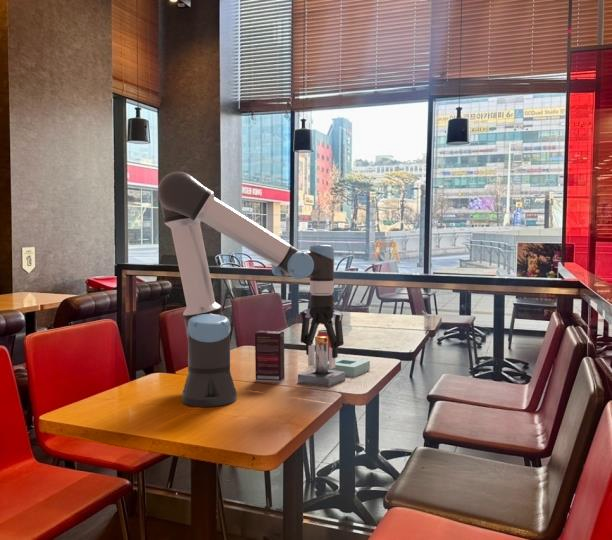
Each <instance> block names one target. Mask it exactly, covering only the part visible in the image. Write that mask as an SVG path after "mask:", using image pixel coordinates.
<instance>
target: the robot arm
mask: <svg viewBox="0 0 612 540" xmlns="http://www.w3.org/2000/svg"><path fill="white" fill-rule="evenodd" d="M157 195H158V200H159V203H160V207H161V212H162V216H163V221H164V225H166V226H167V227H168V228H169V229H170V230H171V234H172V235H171V236H172V240H173V245H174V250H175V255H176V260H177V264H178V265H177V266H178V270H179V274H180V279H181V284H182V289H183V296H184V300H185V305H186V308H185V309H184V311H183V313H182V317H183V321H184V325H185V326H184V327H185V333H186V337H187V367H188V368H187V369H188V371H187V376H186V380H185V383H184V386H183V390H182V392H181V402H182V403H183V404H185V405H187V406H191V407H202V408H203V407H204V408H210V407H211V408H212V407H220V406H224V405H225V406H226V405H229V404H232V403H234V402H236V401H237V389H236V386H235V384H234V380H233V377H232V373H231V332H232V331H231V324H230V319H229V318H228V317H227V316H225V315H224V313H223V307H222V305H221V304H219V303H218V302H216V299H215V295H214V289H213V284H212V278H211V273H210V268H209V267H210V266H209V264H208V257H207V254H206V249H205V244H204V237H203V232H202V227H201V222H203V224H206V225H207V226H209V227H211V228H213V229H214V230H215V231H217V232H219V233H221V234H222V235H224V236H226V237H227V238H228V239H230V240H232V241H234V242H235V243H237V244H239V245H240V246H242V247H244V248H245V249H247V250H248V251H250V252H252V253H253V254H255V255H257V256H258V257H260V258H262V259H263V260H265V261H266V262H268V263H270V264H271V266H270V267H271V272H272V274H273V275H274V276H276V277H277V276H278V277H285V276H286V277H287V276H288V277H293V278H294V279H296V280H302V279H307V278H308V277H309V293H310V295H309V306H310V308H309V310H308V311H302V312H301V318H302V320H301V321H302V323H301V324H302V325H301V331H300V333H301V334H300V343H301V344H305V348H306V349H305V355H306V356H307V358H308V359H307V360H308V361H307V364H308V367H312V366H315V344H314V340H315V339H314V338H315V337H316V335H317V334H316V333H317V330H318V328H319V325H320V324H321V325H323V326H324V328H325V330H327V334H328V337H329V340H330V343H331V348H329V369H333V368H335V359H336V358H338V356H339V354H338V352H339V351H338V350H339V347H341V346H344V335H343V334H344V332H343V323H342V322H343V321H342V320H343V316H344V315H343V313H337V312H335V310H334V306H335V300H334V299H335V295H334V293H335V286H334V285H335V281H334V277H335V276H334V272H335V269H334V268H335V255H334V254H335V252H334V251H335V250H334V247H333V246H332V245H330V244H312V245H310V246H309V250H306V251H301V250H300V249H298V248H296V247H295V246H293V245H291V244H290V243H289V242H287V241H286V240H284V239H282V238H280V237H279V236H278V235H276V234H274V233H272V232H271V231H269V230H268V229H267V228H264V227H263V226H262V225H260V224H258V223H257V222H255V221H253V220H252V219H250V218H249V217H247V216H246V215H244V214H242V213H240V212H239V211H238V210H236V209H235V208H233V207H231V206H229V205H228V204H226V203H225V202H223V201H222V200H220V199H218V198H217V197H215V194H214V191H213V190H211V189H210V188H208V187H206V186H205V185H203V184H202V183H201V182H200V181H198V180H197V179H196V178H194V176H192V175H191V174H189V173H187V172H184V171H174V172H170V173H168V174H166V175H165V176H163V178H162V179H161V181H160V182H159V185H158V187H157ZM310 318H312V319H310ZM332 319H333V320H334V323H333V320H332ZM310 321H311V322H310ZM333 324H334V326H333Z"/></svg>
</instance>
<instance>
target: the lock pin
mask: <svg viewBox="0 0 612 540" xmlns="http://www.w3.org/2000/svg"><path fill="white" fill-rule="evenodd" d="M314 338H315V339H314V340H315V341H314V342H315V344H314V345H315V365H314V366H315V367H314V368H315V374H316V375H324V376H325V375H328V337H326V336H317V335H316V336H315V337H314Z"/></svg>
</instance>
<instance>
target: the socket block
mask: <svg viewBox="0 0 612 540" xmlns="http://www.w3.org/2000/svg"><path fill="white" fill-rule="evenodd" d="M370 365H371V361H370V360H366V359H365V360H364V359H356V358H349V357H348V358H346V357H341V356H340V357H337V358H335V368H333V369H329V361H328V370H335V371H343V372H345V377H346V376H347V377H355V378H356V377H357V376H359V375H362V374H364V373H368V372H370V371H371V370H370V368H371V366H370ZM369 370H370V371H369ZM367 371H368V372H367Z"/></svg>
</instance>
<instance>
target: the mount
mask: <svg viewBox="0 0 612 540" xmlns="http://www.w3.org/2000/svg"><path fill="white" fill-rule="evenodd" d="M345 380H346V376H345V372H343V371H335V370H328V375H325V376H324V375H316V374H315V367H314V368H311V369H309V370H306V371H304V372H300V373H298V374H297V383H298V384H304V385H311V386H317V387H324V388H330V387H333V386H335V385H337V384H339V383H342V382H344V381H345Z"/></svg>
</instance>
